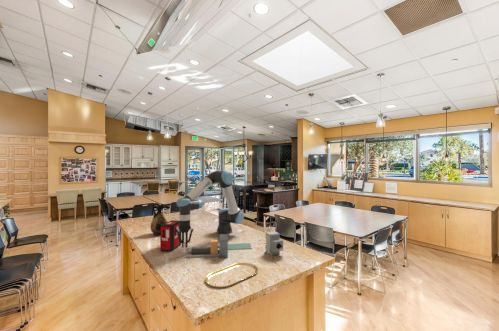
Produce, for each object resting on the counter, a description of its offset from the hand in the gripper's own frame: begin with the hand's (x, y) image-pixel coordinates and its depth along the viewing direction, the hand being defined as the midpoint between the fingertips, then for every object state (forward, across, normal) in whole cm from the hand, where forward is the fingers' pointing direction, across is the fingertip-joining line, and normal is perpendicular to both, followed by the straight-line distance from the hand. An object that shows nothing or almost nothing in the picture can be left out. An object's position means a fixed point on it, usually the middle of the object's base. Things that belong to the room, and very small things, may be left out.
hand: (184, 251), depth 168 cm
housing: (+2, +17, 0) cm, 17 cm away
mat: (+2, +40, +14) cm, 43 cm away
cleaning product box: (+3, -14, +16) cm, 21 cm away
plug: (+3, +15, 0) cm, 15 cm away
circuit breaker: (+3, +66, -4) cm, 67 cm away
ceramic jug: (+3, -34, +54) cm, 64 cm away
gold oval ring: (+3, +34, -34) cm, 49 cm away
